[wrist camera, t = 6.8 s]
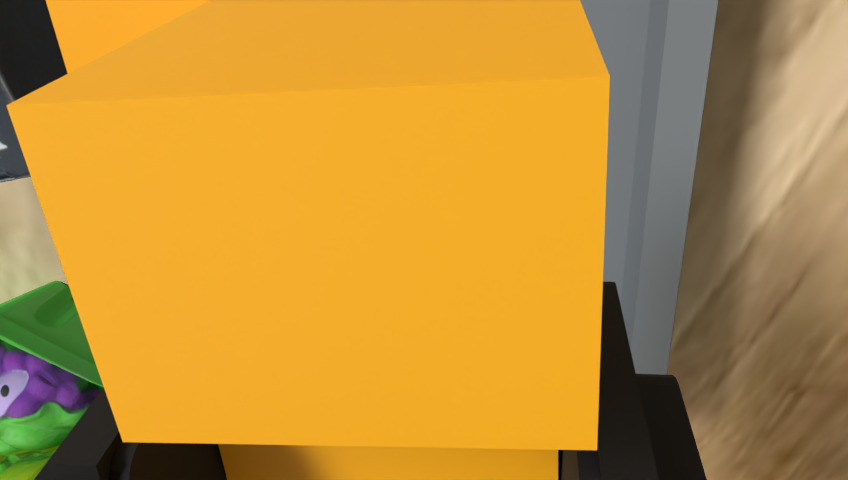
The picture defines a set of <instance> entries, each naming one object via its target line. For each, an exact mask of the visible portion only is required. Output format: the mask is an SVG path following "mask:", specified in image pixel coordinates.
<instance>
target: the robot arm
mask: <svg viewBox="0 0 848 480" xmlns="http://www.w3.org/2000/svg"><path fill="white" fill-rule="evenodd" d="M34 480H227V477H226V472H225V468H224V465H223V461H222V457H221V454H220V450H219V446H218V444H200V443H142V442H123V441H122V438H121V435H120V433H119V430H118V427H117V424H116V421H115V418H114V415H113V412H112V409H111V407H110V404H109V401H108V398H107V395H106V392H105V389H104V388H103V389H102V390H101V392H100V393H99V394H98V396H97V397H96V398H95V400H94V401H93V402H92V404H91V405H90V406H89V408H88V409H87V410H86V411H85V413H84V414H83V415H82V417H81V418H80V419H79V421H78V422H77V423H76V425H75V426H74V427H73V429H72V430H71V431H70V433H69V434H68V435H67V437H66V438H65V439H64V440H63V442H62V443H61V444H60V446H59V447H58V448H57V450H56V451H55V452H54V454H53V455H52V456H51V458H50V459H49V460H48V462H47V463H46V464H45V466H44V467H43V468H42V469H41V471H40V472H39V473H38V475H37V476H36V477H35V479H34ZM558 480H707V479H706V476H705V473H704V469H703V466H702V463H701V459H700V456H699V452H698V449H697V446H696V442H695V439H694V435H693V432H692V429H691V425H690V422H689V418H688V415H687V412H686V408H685V405H684V401H683V398H682V395H681V391H680V388H679V385H678V382H677V380H676V378H675V377H674V376H673V375H659V374H636V373H635V368H634V364H633V359H632V355H631V350H630V346H629V341H628V336H627V332H626V327H625V323H624V318H623V314H622V309H621V305H620V300H619V296H618V291H617V287H616V283H615V282H604V281H603V293H602V323H601V352H600V381H599V411H598V440H597V450H558Z"/></svg>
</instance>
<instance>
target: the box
mask: <svg viewBox="0 0 848 480" xmlns="http://www.w3.org/2000/svg"><path fill="white" fill-rule="evenodd" d="M66 74H68V73H67V70H66V66H65V63H64V60H63V57H62V53H61V50H60V47H59V43H58V40H57V37H56V33H55V30H54V27H53V23H52V20H51V17H50V13H49V10H48V7H47V3H46V0H0V182H4V181H10V180H15V179H19V178H26V177H31V175H30V172H29V169H28V167H27V164H26V161H25V158H24V155H23V152H22V149H21V146H20V143H19V141H18V138H17V135H16V132H15V129H14V126H13V123H12V120H11V117H10V115H9V112H8V109H7V106H6V105H8V104H10V103H12V102H14V101H16V100H18V99H20V98H22V97H24V96H26V95H27V94H29V93H31V92H33V91H35V90H37V89H39V88H41V87H43V86H45V85H47V84H49V83H51V82H53V81H55V80H57V79H59V78H61V77H62V76H64V75H66Z"/></svg>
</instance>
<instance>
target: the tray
mask: <svg viewBox="0 0 848 480" xmlns="http://www.w3.org/2000/svg"><path fill="white" fill-rule="evenodd" d="M580 2H581V4H582V7H583V9H584V12H585V14H586V17H587V20H588V22H589V25H590V27H591V30H592V32H593V35H594V37H595V40H596V42H597V45H598V47H599V50H600V53H601V55H602V58H603V60H604V63H605V65H606V68H607V70H608V73H609V75H610V88H609V117H608V147H607V176H606V205H605V235H604V264H603V281H604V282H615V283H616V287H617V291H618V296H619V300H620V305H621V309H622V314H623V318H624V323H625V327H626V332H627V336H628V341H629V346H630V350H631V355H632V359H633V364H634V368H635V373H636V374H659V375H667V368H668V360H669V353H670V346H671V339H672V331H673V324H674V317H675V310H676V302H677V295H678V288H679V281H680V274H681V266H682V259H683V252H684V245H685V237H686V230H687V223H688V216H689V208H690V201H691V194H692V187H693V179H694V172H695V165H696V158H697V150H698V143H699V136H700V129H701V121H702V114H703V107H704V100H705V92H706V85H707V78H708V71H709V64H710V56H711V49H712V42H713V35H714V27H715V20H716V13H717V6H718V0H580Z"/></svg>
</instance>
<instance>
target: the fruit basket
mask: <svg viewBox="0 0 848 480" xmlns="http://www.w3.org/2000/svg"><path fill="white" fill-rule="evenodd" d="M103 388H104V386H103V383H102V381H101V378H100V375H99V372H98V369H97V366H96V363H95V360H94V357H93V355H92V352H91V349H90V346H89V343H88V340H87V337H86V334H85V331H84V328H83V326H82V323H81V320H80V317H79V314H78V311H77V308H76V305H75V302H74V300H73V297H72V294H71V291H70V288H69V287H68V286H67V285H65V284H63V283H61V282H59V281H53V282H51V283H48V284H46V285H44V286H41V287H39V288H37V289H34V290H32V291H30V292H27V293H25V294H23V295H20V296H18V297H16V298H13V299H11V300H9V301H6V302H4V303H2V304H0V480H34V479H35V477H36V476H37V475H38V473H39V472H40V471H41V469H42V468H43V467H44V466H45V464H46V463H47V462H48V460H49V459H50V458H51V456H52V455H53V454H54V452H55V451H56V450H57V448H58V447H59V446H60V444H61V443H62V442H63V440H64V439H65V438H66V437H67V435H68V434H69V433H70V431H71V430H72V429H73V427H74V426H75V425H76V423H77V422H78V421H79V419H80V418H81V417H82V415H83V414H84V413H85V411H86V410H87V409H88V408H89V406H90V405H91V404H92V402H93V401H94V400H95V398H96V397H97V396H98V394H99V393H100V392H101V390H102V389H103Z"/></svg>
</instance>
